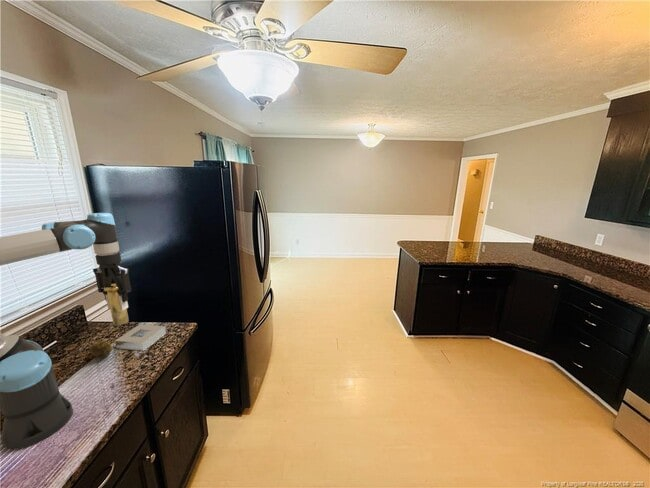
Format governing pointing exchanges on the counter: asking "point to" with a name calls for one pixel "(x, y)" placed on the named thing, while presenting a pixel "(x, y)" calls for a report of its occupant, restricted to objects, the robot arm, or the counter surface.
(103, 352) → the potato
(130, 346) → the housing
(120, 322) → the gold tall flared cylinder
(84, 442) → the counter surface
